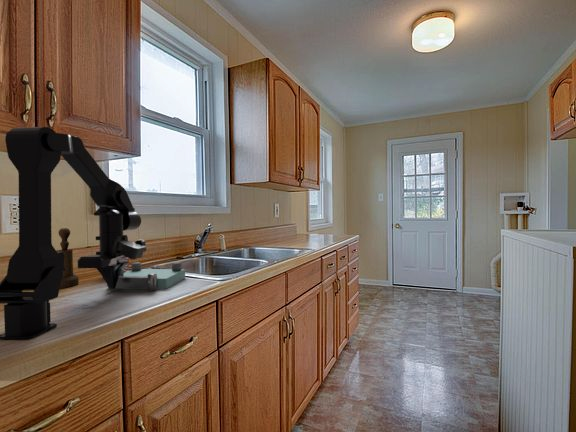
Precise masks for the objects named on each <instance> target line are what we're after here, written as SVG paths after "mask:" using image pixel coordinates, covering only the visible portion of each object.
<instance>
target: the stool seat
mask: <svg viewBox="0 0 576 432" xmlns="http://www.w3.org/2000/svg"><path fill="white" fill-rule="evenodd" d="M130 265H131V266H130V267H131V268H130V269H129V271H128V272H125V273H124V268H122V270H121V272H120V275H119V276H148V274H153V273H155V274H157V290H158V289H159V290H160V289H164V290H166V289H168V288H170V287H172V286H174V285H176V284H177V283H179V282H181V281H182V280H184V279H186V269H182V267H183V266H182V262H181V261H175V262H171V268H162V269H161V268H160V269H157V268H156V269H155V268H154V269H152V268H146V269H145V268H143V269H142V262H138V261H137V262H131V263H130ZM107 289H109V290H111V289H110V288H109V287H108V286H107ZM115 289H123V290H124V289H125V290H127V289H131V290H133V289H136V290H137V289H139V290H140V289H141V290H142V289H146V290H148V288H114V290H115Z"/></svg>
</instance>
